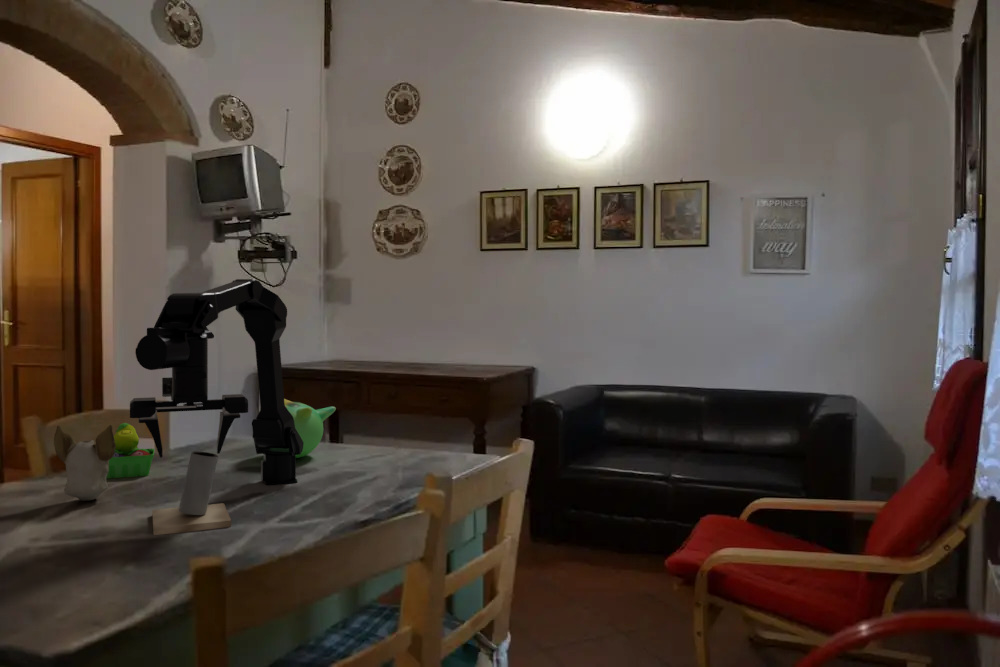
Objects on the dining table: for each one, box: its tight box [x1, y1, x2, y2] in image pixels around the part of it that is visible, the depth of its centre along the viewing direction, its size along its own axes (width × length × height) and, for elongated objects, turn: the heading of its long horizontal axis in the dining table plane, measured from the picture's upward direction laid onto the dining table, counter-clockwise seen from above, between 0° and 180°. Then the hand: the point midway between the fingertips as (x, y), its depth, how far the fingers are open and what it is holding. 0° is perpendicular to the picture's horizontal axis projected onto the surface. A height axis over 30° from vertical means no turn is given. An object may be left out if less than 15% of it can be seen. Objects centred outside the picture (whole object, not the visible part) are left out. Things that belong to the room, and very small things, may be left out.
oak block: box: [151, 502, 232, 536], centre depth 130 cm, size 12×12×2 cm
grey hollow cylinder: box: [178, 450, 219, 515], centre depth 131 cm, size 4×4×10 cm
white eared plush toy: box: [53, 424, 116, 502], centre depth 142 cm, size 11×9×15 cm
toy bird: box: [284, 398, 337, 459], centre depth 184 cm, size 18×17×15 cm
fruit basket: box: [106, 422, 156, 479], centre depth 164 cm, size 11×9×11 cm
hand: (190, 455), depth 130 cm, fingers open, 9 cm apart
